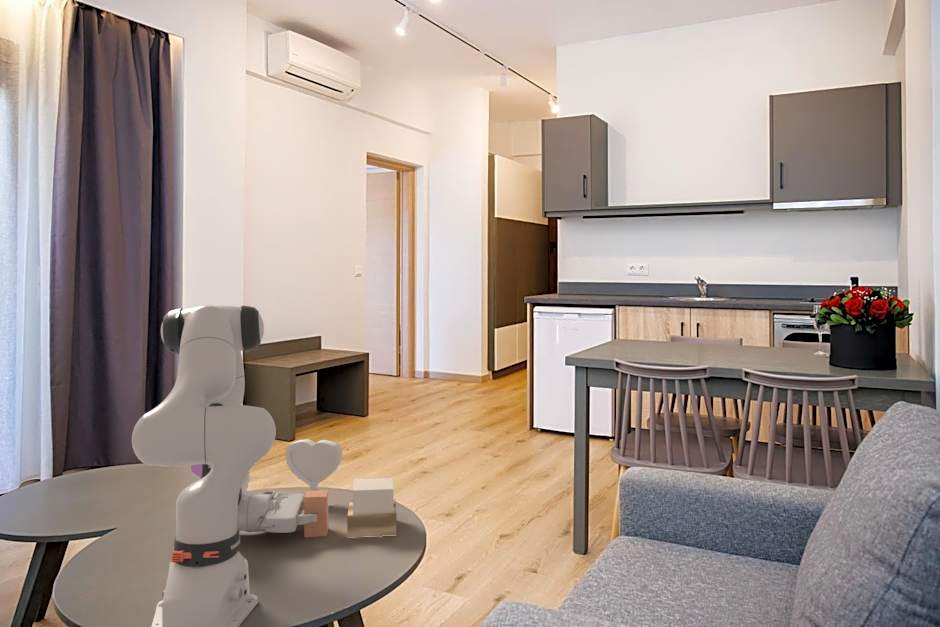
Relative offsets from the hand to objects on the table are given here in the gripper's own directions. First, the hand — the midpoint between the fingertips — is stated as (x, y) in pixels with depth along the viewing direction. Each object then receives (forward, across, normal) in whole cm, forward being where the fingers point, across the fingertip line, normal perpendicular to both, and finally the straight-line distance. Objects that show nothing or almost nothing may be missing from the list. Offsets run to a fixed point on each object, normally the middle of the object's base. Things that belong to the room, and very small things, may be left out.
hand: (319, 511), depth 174 cm
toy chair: (-32, +20, +6) cm, 38 cm away
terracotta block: (-1, 0, +6) cm, 6 cm away
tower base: (+13, +1, +6) cm, 15 cm away
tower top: (+13, +1, 0) cm, 13 cm away
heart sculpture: (-4, +24, +6) cm, 25 cm away
